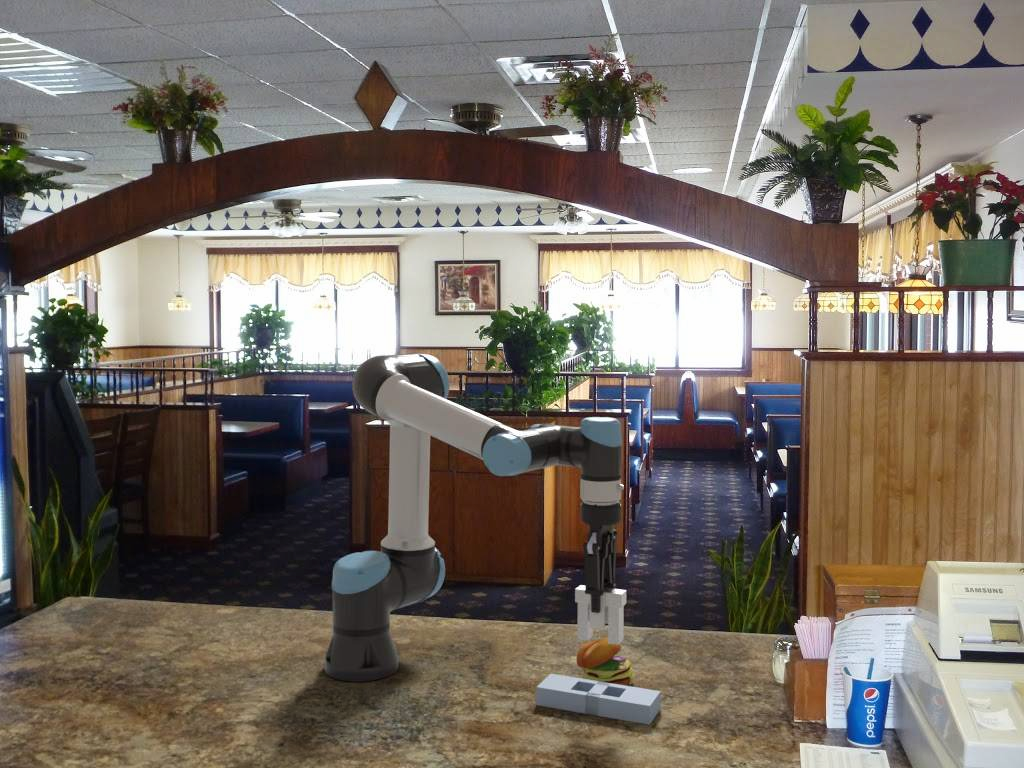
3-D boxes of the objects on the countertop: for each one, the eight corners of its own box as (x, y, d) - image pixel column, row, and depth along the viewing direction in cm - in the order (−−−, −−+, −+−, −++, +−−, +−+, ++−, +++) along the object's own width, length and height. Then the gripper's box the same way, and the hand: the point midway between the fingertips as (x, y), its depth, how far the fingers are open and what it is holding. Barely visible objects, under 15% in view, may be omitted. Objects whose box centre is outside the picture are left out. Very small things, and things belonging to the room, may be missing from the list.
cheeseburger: (634, 694, 196) (622, 644, 195) (581, 702, 198) (569, 653, 198) (637, 674, 206) (626, 627, 205) (587, 682, 208) (576, 636, 208)
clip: (575, 638, 189) (575, 589, 188) (580, 634, 192) (580, 584, 191) (621, 645, 185) (621, 594, 185) (626, 640, 188) (626, 590, 187)
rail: (536, 704, 191) (536, 686, 190) (550, 690, 197) (550, 673, 197) (649, 724, 182) (649, 706, 182) (660, 709, 189) (660, 691, 189)
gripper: (606, 511, 178) (606, 641, 179) (632, 495, 192) (632, 615, 194) (566, 507, 180) (566, 636, 182) (595, 492, 195) (594, 611, 197)
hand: (600, 625), depth 188 cm, fingers closed on clip, 3 cm apart
